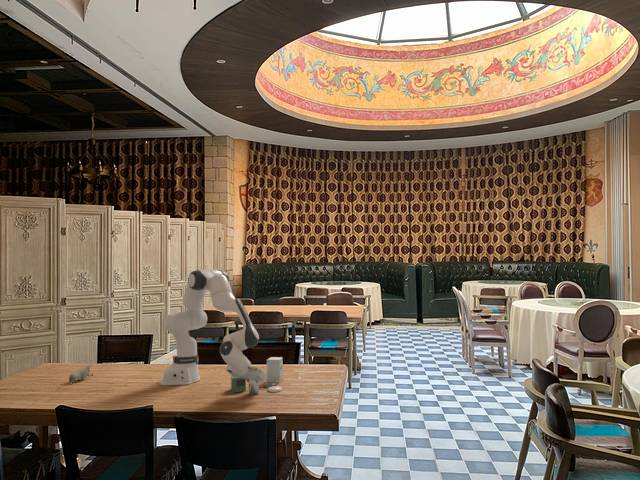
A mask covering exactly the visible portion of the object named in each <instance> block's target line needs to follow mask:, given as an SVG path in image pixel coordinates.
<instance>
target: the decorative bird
mask: <svg viewBox="0 0 640 480" xmlns="http://www.w3.org/2000/svg"><path fill="white" fill-rule="evenodd" d="M91 367H93V365H92V364H89V365H87V366H85V367H83V368H81V369H78V370H77V371H74V372H72V373H71V374H70V375H69V377H68V382H69V384H70V383H72V382H73V383H74V382H79V381H78V380H81V381H83V380H85V379H86V378H88V377H91V376H94V373H93V372H92V373H90V372H91V371H90V370H91ZM87 376H88V377H87ZM73 383H72V384H73Z"/></svg>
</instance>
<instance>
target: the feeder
mask: <svg viewBox="0 0 640 480" xmlns="http://www.w3.org/2000/svg"><path fill="white" fill-rule="evenodd" d="M246 382H247V381H246V380H245V379H243V378H237V377H233V376H232V375H230V386H231V387H230V389H231V393H236V392H237V393H238V392H246V390H247V388H246Z"/></svg>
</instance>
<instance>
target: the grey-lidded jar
mask: <svg viewBox="0 0 640 480" xmlns="http://www.w3.org/2000/svg"><path fill="white" fill-rule="evenodd" d="M256 381H257V380H251V379H249V382H248V394H249V396H256V395H259V394H260V385H259V383H257V382H256Z"/></svg>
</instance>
